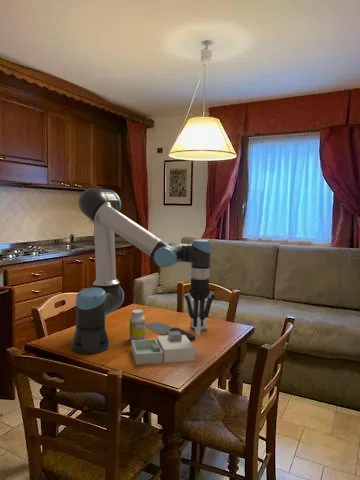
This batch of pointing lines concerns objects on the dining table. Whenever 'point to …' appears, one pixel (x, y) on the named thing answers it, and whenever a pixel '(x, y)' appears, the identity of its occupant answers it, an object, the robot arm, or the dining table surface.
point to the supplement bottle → (137, 325)
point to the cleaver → (167, 329)
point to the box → (145, 352)
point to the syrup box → (198, 314)
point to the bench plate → (176, 349)
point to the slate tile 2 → (174, 336)
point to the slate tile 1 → (155, 348)
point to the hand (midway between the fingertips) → (197, 334)
